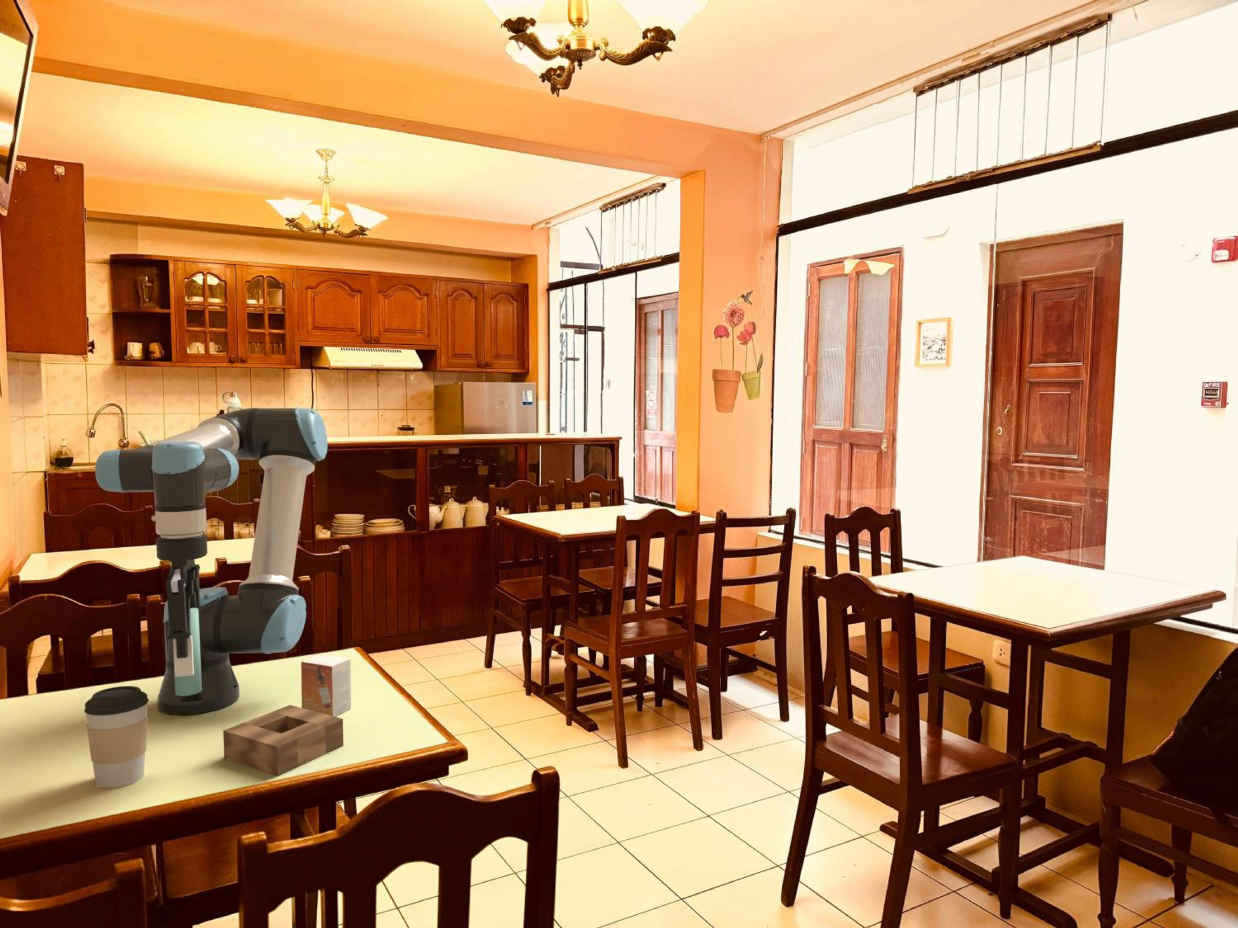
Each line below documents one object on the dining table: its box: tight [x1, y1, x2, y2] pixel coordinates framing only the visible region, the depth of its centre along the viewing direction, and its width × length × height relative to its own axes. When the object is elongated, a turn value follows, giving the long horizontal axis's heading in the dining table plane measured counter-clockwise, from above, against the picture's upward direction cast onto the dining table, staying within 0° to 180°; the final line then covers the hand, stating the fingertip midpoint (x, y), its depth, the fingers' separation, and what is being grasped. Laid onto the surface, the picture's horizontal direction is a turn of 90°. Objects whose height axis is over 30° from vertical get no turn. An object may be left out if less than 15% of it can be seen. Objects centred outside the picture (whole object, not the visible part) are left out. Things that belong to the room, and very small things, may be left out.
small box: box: [300, 654, 352, 717], centre depth 166 cm, size 8×6×10 cm
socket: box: [222, 704, 344, 777], centre depth 147 cm, size 14×14×5 cm
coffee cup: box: [83, 685, 150, 789], centre depth 136 cm, size 9×9×15 cm
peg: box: [173, 608, 202, 696], centre depth 140 cm, size 4×4×14 cm
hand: (187, 670), depth 140 cm, fingers closed on peg, 4 cm apart
